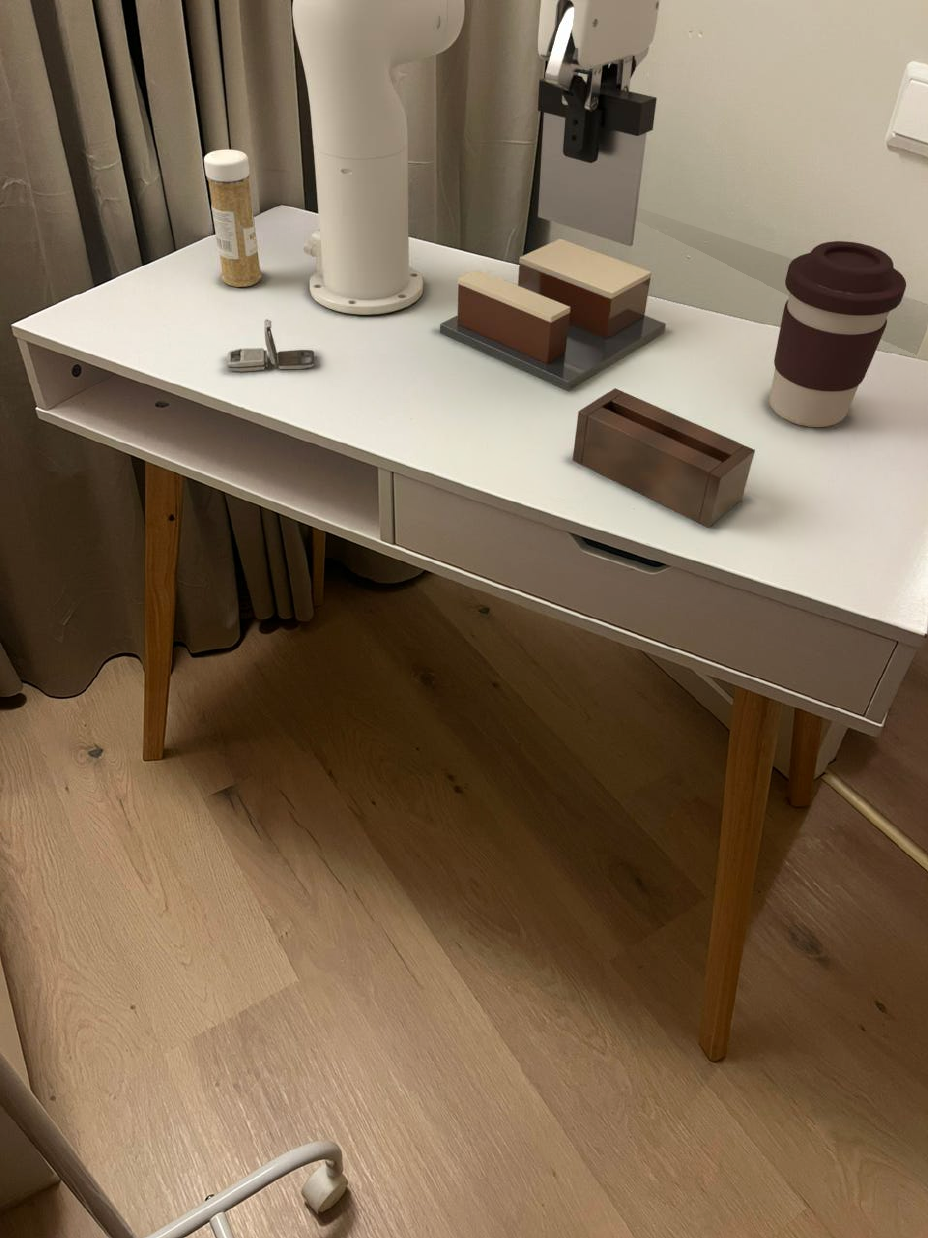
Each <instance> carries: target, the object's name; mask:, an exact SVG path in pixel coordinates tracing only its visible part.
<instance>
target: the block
mask: <svg viewBox="0 0 928 1238" xmlns="http://www.w3.org/2000/svg"><path fill="white" fill-rule="evenodd" d="M755 454H756V449H754V448H751V447H749V446H747V445H745V444H743V443H740V442H739V441H736V440H734V439H732V438H729V437H727V436H724V435H722V434H720V433H718V432H716V431H713V430H711V429H708V428H706V427H704V426H702V425H700V424H697V423H696V422H693V421H691V420H688V419H686V418H684V417H682V416H679V415H677V414H675V413H673V412H670V411H668V410H666V409H663V408H661V407H659V406H657V405H655V404H652V403H649V402H647V401H645V400H643V399H640V398H639V397H637V396H634V395H632V394H629V393H628V392H624V391H623V390H620V389H619V388H616V387H615V388H613V389H611V390H609V391H608V392H606V393H605V394H603V395H602V396H600V397H599V398H597V399H596V400H594V401H592V402H591V403H589V404H588V405H586V406H585V407H583V408H581V409H580V410H578V412H577V421H576V428H575V437H574V444H573V452H572V461H574V462H575V463H578V464H579V465H581V466H584V467H586V468H588V469H589V470H592V471H594V472H595V473H598V474H600V475H602V476H604V477H605V478H608V479H609V480H612V481H614V482H616V483H618V484H619V485H621V486H624V487H626V488H627V489H630V490H632V491H634V492H636V493H638V494H640V495H641V496H644V497H646V498H647V499H650V500H652V501H654V502H656V503H658V504H660V505H662V506H664V507H666V508H668V509H671V510H672V511H675V512H676V513H679V514H680V515H683V516H685V517H687V518H688V519H690V520H692V521H694V522H696V523H698V524H700V525H702V526H704V527H706V528H710V527H711V526H713V524H715V523H716V522H717V521H718V520H719V519H721V518H722V517H723V516H724V515H725V514H727V513H728V512H729V511H730V510H731V509H732V508H733V507H735V506H736V505H737V504H738V503H740V502H741V501H742V500H743V497H744V493H745V490H746V486H747V482H748V479H749V474H750V472H751V468H752V465H753V460H754V456H755Z"/></svg>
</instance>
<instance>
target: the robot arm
mask: <svg viewBox="0 0 928 1238" xmlns="http://www.w3.org/2000/svg"><path fill="white" fill-rule="evenodd" d="M660 1H661V0H540V9H539V21H538V33H537V53H538V56H539V58H540V59H542V60H543V61H547V62H548V63H547V67H546V70H545V73H544V78H545V80H546V82H548V83H550V84H552V85H554V86H556V87H558V88H559V90H560V91H561V93H562V103H563V104H564V105H566V115H565V128H564V141H563V154H564V155H565V156H566V157H570V158H574V159H577V160H581V161H584V162H588V163H593V162H595V161H597V159H598V152H599V142H600V131H601V120H602V110H601V109H597V106H598V102H599V93H600V85H604V86H608V87H612V88H617V89H621V90H626V91H630V89H631V88H630V87H631V79H632V77H633V75H634V73H635V71H636V70H637V69H636V68H637V67H638V66H639V65H640V63H642V61H643V60H644V59H645V58H646V57H647V55H648V54H649V51H650V46H651V44H652V43H653V41H654V38H655V33H656V28H657V22H658V16H659V9H660ZM291 9H292V10H291V11H292V21H293V28H294V29H293V30H294V34H295V38H296V42H297V46H298V50H299V54H300V57H301V61H302V66H303V70H304V76H305V80H306V86H307V93H308V100H309V109H310V120H311V130H312V131H311V132H312V144H313V155H314V157H313V158H314V169H315V171H314V173H315V184H316V194H317V195H316V197H317V212H318V226H319V229H316V230H314V232H313V233H312V235H311V241H309V240H308V241H306V242H305V244H304V245H303V252H304V253H305V254H306V255H308V256H311V257H314V258H316V263H317V264H316V267H317V270H316V271H314V272H313V274H312V275H311V276H310V279H309V293H310V295H311V297H312V299H314V301H315V302H318V304H320V306H323V307H325V308H327V309H329V310H332V311H334V312H339V313H343V314H351V315H359V316H360V315H362V316H363V315H364V316H365V315H367V316H369V315H370V316H371V315H382V314H388V313H392V312H397V311H400V310H403V309H405V308H407V307H410V306H411V305H413V304H414V303H416V302H417V301H418V300H419V299H420V298H421V296H422V294H423V293H424V279H423V277H422V275H421V274H420V272H419V271H418V270H416V269H415V268H414V267H412V266H410V251H409V250H410V248H409V247H410V244H409V243H410V241H409V238H410V237H409V158H408V157H409V156H408V155H409V151H408V150H409V149H408V123H407V115H406V112H405V108H404V105H403V103H402V100H401V98H400V96H399V94H398V93H397V90H396V88H395V87H394V84H393V82H392V80H391V77H390V69H392V68H396V67H398V66H400V65H404V64H408V63H412V62H417V61H420V60H424V59H427V58H430V57H433V56H436V55H439V54H441V53H442V52H445V51H447V49H449V48H450V47H451V46H452V45H453V44H454V43H455V42H456V40H457V39H458V38H459V36H460V33H461V31H462V28H463V25H464V21H465V10H466V9H465V0H292V8H291ZM579 74H581V75H579ZM582 75H586V80H585V79H584V77H583V76H582ZM585 81H586V82H587V83H585Z"/></svg>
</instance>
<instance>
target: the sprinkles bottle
mask: <svg viewBox="0 0 928 1238" xmlns="http://www.w3.org/2000/svg"><path fill="white" fill-rule="evenodd" d="M203 165H204V172H205V173H204V174H205V176H206V180H207V181H208V188H209V194H210V202H211V212H212V219H213V225H214V226H213V227H214V232H215V238H216V239H215V240H216V244H217V251H218V254H219V261H220V266H221V280H222V282H223V283H224V284H226V285H228V286H231V287H234V288H235V287H237V288H242V287H243V288H244V287H250V286H253V285H256V284H258V283H259V282H260V281H261V280H262V278H263V276H262V275H263V274H262V271H261V265H260V258H259V251H258V250H259V246H258V239H257V230H256V224H255V217H254V216H255V215H254V208H253V204H252V195H251V189H250V173H251V171H250V163H249V157H248V155H247V154H246V153H245V152H243V151H241V150H237V149H218V150H213V151H211V152H208V153H207V154H205V156H204V157H203Z"/></svg>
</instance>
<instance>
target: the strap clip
mask: <svg viewBox="0 0 928 1238" xmlns="http://www.w3.org/2000/svg"><path fill="white" fill-rule="evenodd" d="M263 321H264V325H263V327H264V329H263V330H264V331H263V332H264V342H265V346H266V350H265V349H264V348H262V347H257V348H256V347H251V348H250V347H249V348H247V347H246V348H245V347H243V348H237V349H233V350H230V351H228V352H227V361H226V363H227V364H226V365H227V369H228V370H230V371H232V372H233V371H234V372H241V373H242V372H255V371H264V370H265V369H266V368H268V365H269V364H268V357H269V360H270V363H271V364H272V365H273V366H275V368H278V369H279V370H303V369H307V368H311V367H313V366H315V364H316V363H315V361H316V360H315V352H314V350H312V349H295V350H282V351H277V347H276V343H275V341H274V336H273V332H272V321H271V320H270V319H264V320H263ZM305 356H310V360H311V361H309V362H303V357H305ZM233 359H234V360H239V361H233Z"/></svg>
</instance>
